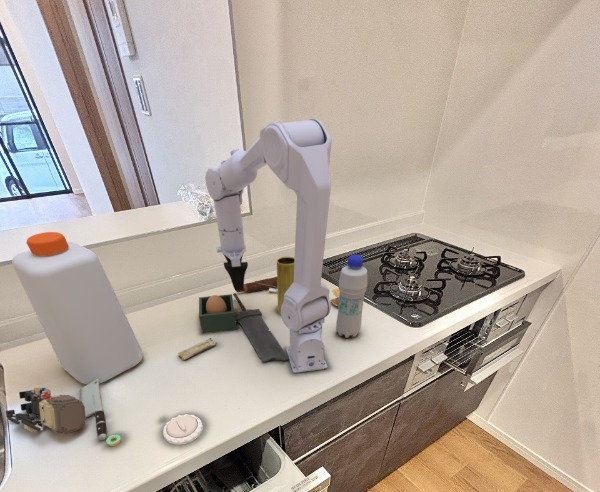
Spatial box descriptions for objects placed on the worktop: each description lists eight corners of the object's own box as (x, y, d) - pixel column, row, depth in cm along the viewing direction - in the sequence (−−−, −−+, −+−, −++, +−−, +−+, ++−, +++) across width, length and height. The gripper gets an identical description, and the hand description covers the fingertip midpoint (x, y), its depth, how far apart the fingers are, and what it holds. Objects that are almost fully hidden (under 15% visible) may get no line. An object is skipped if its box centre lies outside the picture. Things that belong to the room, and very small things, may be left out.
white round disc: (196, 411, 70) (194, 404, 68) (208, 435, 65) (206, 427, 64) (159, 424, 67) (156, 417, 66) (169, 450, 63) (166, 443, 61)
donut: (167, 431, 67) (166, 427, 67) (108, 448, 63) (106, 445, 62) (164, 422, 69) (163, 419, 68) (106, 439, 65) (104, 436, 64)
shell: (345, 317, 99) (357, 307, 100) (344, 306, 96) (357, 296, 96) (327, 302, 103) (339, 293, 104) (326, 291, 99) (338, 282, 100)
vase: (298, 315, 97) (298, 265, 87) (276, 315, 97) (273, 265, 87) (299, 305, 102) (298, 255, 92) (278, 305, 102) (275, 255, 92)
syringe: (284, 295, 107) (285, 293, 108) (285, 289, 106) (286, 287, 107) (252, 289, 106) (253, 287, 108) (252, 282, 105) (254, 280, 107)
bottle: (359, 341, 88) (370, 262, 74) (333, 338, 89) (339, 260, 75) (361, 327, 92) (372, 250, 79) (336, 325, 93) (342, 248, 80)
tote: (237, 329, 92) (234, 312, 89) (202, 333, 91) (198, 316, 87) (234, 310, 99) (231, 294, 96) (202, 313, 98) (199, 297, 95)
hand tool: (312, 278, 115) (312, 267, 113) (316, 280, 113) (316, 269, 111) (235, 293, 108) (233, 281, 106) (237, 296, 105) (235, 284, 103)
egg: (222, 326, 92) (218, 302, 87) (204, 323, 93) (199, 299, 89) (232, 316, 96) (228, 292, 91) (214, 313, 97) (210, 289, 92)
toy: (-4, 386, 65) (37, 403, 58) (44, 380, 71) (86, 395, 64) (1, 422, 66) (41, 443, 59) (47, 413, 73) (88, 431, 66)
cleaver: (76, 388, 73) (96, 376, 73) (81, 392, 74) (101, 380, 74) (79, 448, 63) (104, 434, 63) (85, 452, 64) (109, 437, 64)
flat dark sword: (262, 369, 80) (261, 363, 79) (223, 299, 103) (221, 293, 102) (291, 361, 82) (291, 354, 81) (246, 294, 105) (245, 288, 104)
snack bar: (183, 359, 81) (176, 351, 82) (184, 363, 82) (177, 355, 83) (218, 342, 86) (211, 334, 87) (218, 346, 87) (210, 338, 88)
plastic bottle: (117, 337, 89) (67, 218, 70) (151, 359, 82) (106, 234, 63) (57, 365, 81) (-19, 239, 62) (89, 392, 74) (14, 260, 54)
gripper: (212, 219, 86) (220, 273, 96) (214, 239, 76) (223, 297, 85) (240, 217, 87) (246, 270, 97) (246, 237, 77) (252, 294, 86)
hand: (237, 283), depth 91 cm, fingers open, 7 cm apart
